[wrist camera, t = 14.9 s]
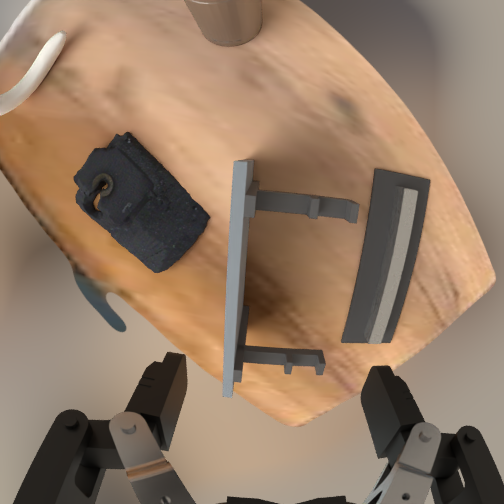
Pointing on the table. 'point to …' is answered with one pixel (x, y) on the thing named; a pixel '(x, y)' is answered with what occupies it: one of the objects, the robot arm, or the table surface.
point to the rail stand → (236, 315)
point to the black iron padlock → (139, 203)
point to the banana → (33, 74)
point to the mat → (383, 252)
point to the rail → (392, 263)
